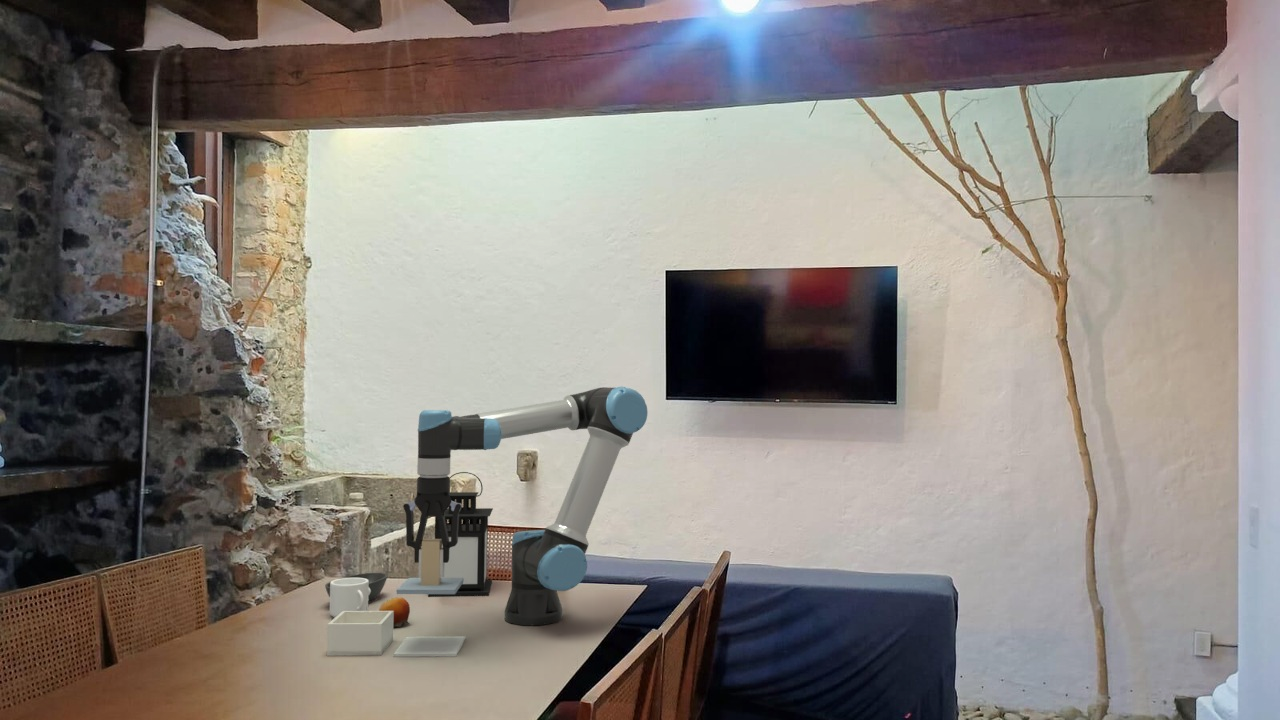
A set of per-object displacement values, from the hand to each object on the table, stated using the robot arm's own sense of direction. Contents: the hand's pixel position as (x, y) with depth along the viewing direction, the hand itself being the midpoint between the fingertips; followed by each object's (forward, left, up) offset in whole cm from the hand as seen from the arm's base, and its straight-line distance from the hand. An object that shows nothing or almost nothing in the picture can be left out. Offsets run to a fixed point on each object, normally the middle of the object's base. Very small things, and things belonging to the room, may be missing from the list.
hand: (431, 576), depth 205 cm
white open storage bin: (+16, 0, -16) cm, 23 cm away
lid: (0, 0, -3) cm, 3 cm away
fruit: (+13, -20, -17) cm, 29 cm away
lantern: (+2, -60, -17) cm, 62 cm away
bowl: (+29, -45, -17) cm, 56 cm away
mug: (+26, -29, -17) cm, 42 cm away
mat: (0, 0, -16) cm, 16 cm away
